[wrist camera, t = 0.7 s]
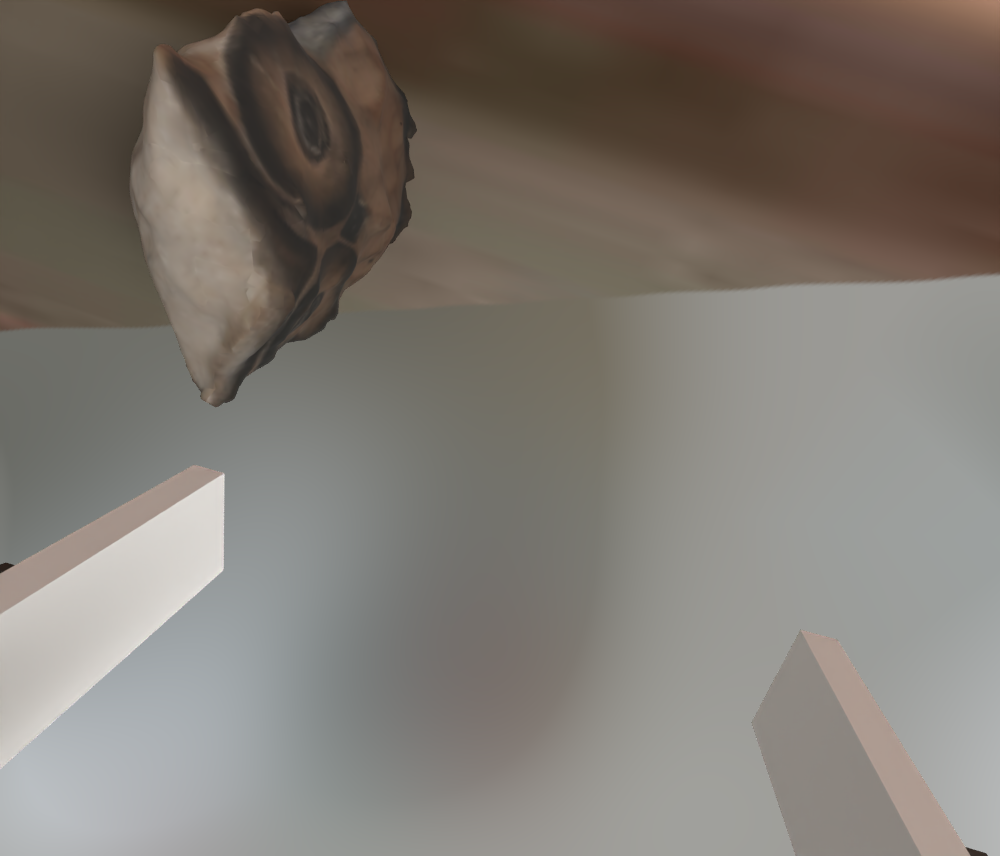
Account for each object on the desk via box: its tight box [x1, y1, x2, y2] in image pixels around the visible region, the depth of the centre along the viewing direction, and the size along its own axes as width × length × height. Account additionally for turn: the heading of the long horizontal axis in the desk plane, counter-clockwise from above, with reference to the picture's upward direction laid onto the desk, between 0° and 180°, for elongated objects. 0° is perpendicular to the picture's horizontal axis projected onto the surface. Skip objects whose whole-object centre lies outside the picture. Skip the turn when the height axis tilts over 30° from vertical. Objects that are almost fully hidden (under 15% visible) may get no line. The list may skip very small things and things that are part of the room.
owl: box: [129, 1, 417, 407], centre depth 26 cm, size 13×13×20 cm
